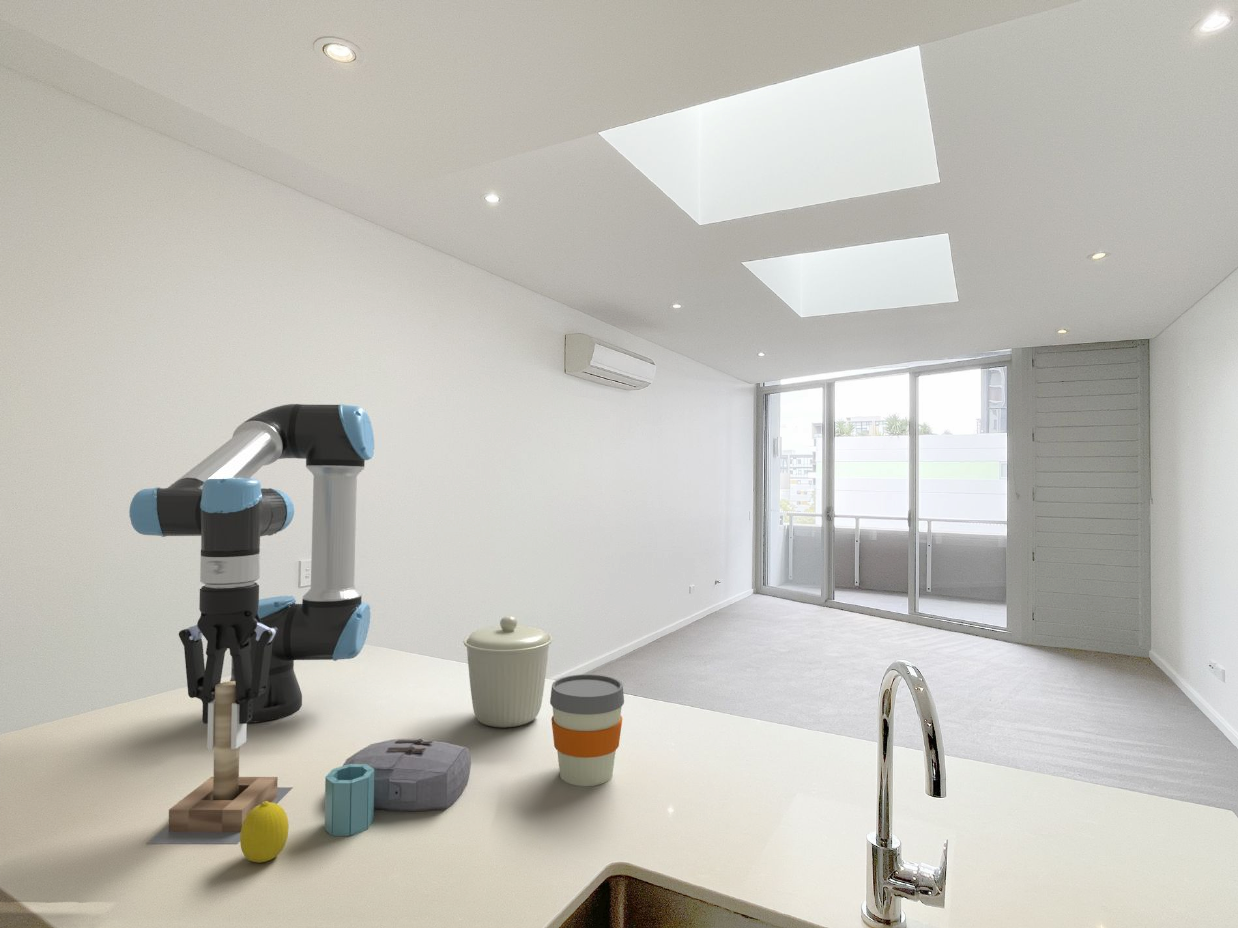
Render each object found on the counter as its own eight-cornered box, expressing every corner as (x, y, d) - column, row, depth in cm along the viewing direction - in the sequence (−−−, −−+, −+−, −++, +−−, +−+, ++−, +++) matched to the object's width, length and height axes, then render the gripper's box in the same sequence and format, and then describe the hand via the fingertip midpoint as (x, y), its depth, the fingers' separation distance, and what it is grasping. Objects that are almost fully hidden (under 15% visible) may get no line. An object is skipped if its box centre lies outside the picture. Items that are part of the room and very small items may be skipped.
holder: (211, 796, 103) (211, 776, 103) (277, 796, 103) (277, 776, 103) (168, 831, 93) (168, 809, 93) (241, 831, 93) (242, 809, 93)
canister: (568, 714, 141) (570, 614, 141) (510, 743, 126) (512, 630, 126) (504, 698, 151) (505, 604, 151) (443, 722, 136) (444, 618, 136)
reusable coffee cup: (638, 773, 114) (639, 684, 114) (585, 799, 105) (586, 702, 105) (586, 751, 123) (588, 669, 123) (533, 773, 113) (534, 684, 113)
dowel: (220, 796, 99) (223, 681, 99) (242, 796, 99) (245, 681, 99) (208, 807, 96) (210, 688, 96) (230, 807, 96) (233, 688, 96)
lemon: (251, 852, 89) (252, 792, 89) (294, 851, 90) (295, 790, 90) (231, 877, 84) (232, 813, 84) (277, 875, 84) (278, 811, 84)
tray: (215, 792, 106) (215, 786, 106) (292, 792, 106) (292, 787, 106) (146, 849, 90) (146, 843, 90) (237, 849, 90) (237, 843, 90)
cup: (336, 818, 98) (337, 763, 98) (377, 818, 98) (378, 763, 98) (318, 841, 92) (319, 782, 92) (362, 841, 92) (363, 782, 92)
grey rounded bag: (479, 778, 112) (364, 771, 114) (479, 727, 112) (365, 721, 114) (447, 825, 97) (315, 816, 99) (448, 767, 97) (316, 759, 99)
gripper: (158, 587, 94) (155, 755, 94) (271, 588, 94) (268, 756, 94) (191, 578, 102) (188, 734, 101) (296, 579, 102) (293, 735, 102)
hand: (227, 744), depth 98 cm, fingers closed on dowel, 3 cm apart
